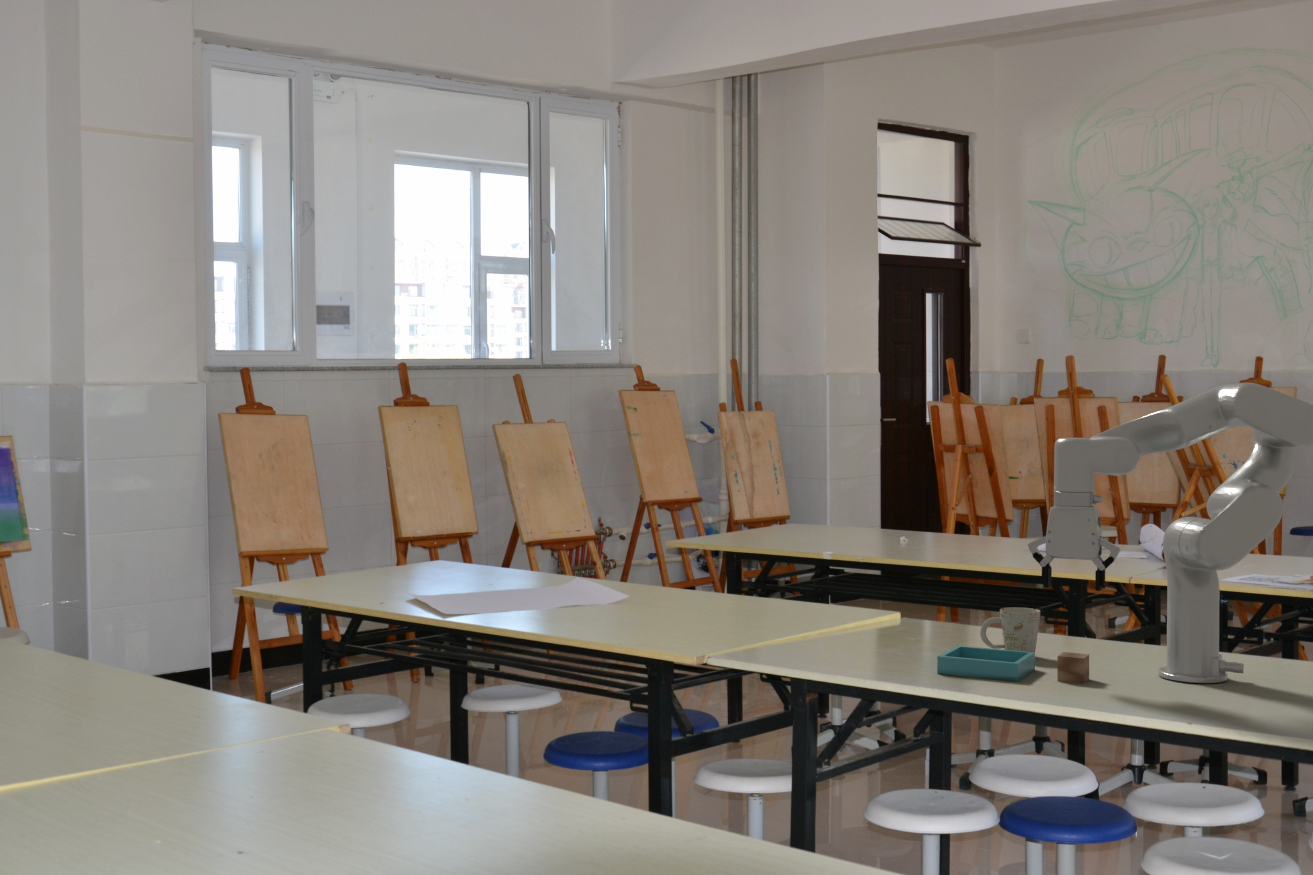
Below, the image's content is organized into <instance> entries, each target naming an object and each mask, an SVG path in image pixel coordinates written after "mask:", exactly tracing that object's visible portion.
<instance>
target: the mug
mask: <svg viewBox="0 0 1313 875" xmlns="http://www.w3.org/2000/svg"><path fill="white" fill-rule="evenodd" d="M1040 617H1041V610H1040V609H1036V608H1029V607H1018V606H1017V607H1015V606H1014V607H1002V608H1000V609H999V617H998V616H997V617H989V618H987V619H986V620H985V621H984V622H983V623H982V625H981V627H980V632H979V634H980V639H981V641H982V642H983V644H984V645H986V646H987V647H988V648H990V649H1003V650H1013V651H1024V652H1035V653H1036V649H1037V648H1036V647H1037V640H1038V632H1039V626H1040ZM992 624H1000V625H1001V631H1002V640H1003V644H993V643H992V642H991V641H990V640H989V639H988V636H987V630H988V628H989V627H990V626H991V625H992Z"/></svg>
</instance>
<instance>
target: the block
mask: <svg viewBox="0 0 1313 875" xmlns="http://www.w3.org/2000/svg"><path fill="white" fill-rule="evenodd" d="M1056 678H1057V680H1056V681H1057V682H1061V683H1071V684H1081V685H1085V684H1086V683H1087V682H1088V681H1089V680H1090V653H1079V652H1078V653H1077V652H1065V651H1063V652H1061V653H1059V654H1058V655H1057V677H1056Z"/></svg>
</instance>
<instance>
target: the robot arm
mask: <svg viewBox="0 0 1313 875" xmlns="http://www.w3.org/2000/svg"><path fill="white" fill-rule="evenodd" d="M1235 427H1250V428H1251V434H1252V435H1251V436H1252V442H1253V443H1252V450H1251V454H1250V455H1249V457H1248V459H1247V460H1245V462H1244V463H1243V464H1242V465H1241V466H1240V467H1239V468H1237V470H1236V471H1234V472H1233V473H1232V474H1231V475H1230V476H1229V477H1228V478H1227V479H1226V480H1224V481H1223V482H1222V483H1221V484H1220V485H1219V486H1218V487H1217V488H1216V489H1215V490H1213V492H1212V493H1211V494H1210V496H1209V498H1208V499H1207V502H1206V512H1207V515H1208V517H1209V518H1210V519H1209V518H1206V517H1205V518H1204V517H1197V516H1185V517H1180V518H1177V519H1176V520H1174V521H1172V522H1171V523H1170V525H1168V527H1167V528H1166V530H1165V532H1164V535H1163V541H1162V548H1163V549H1162V550H1163V556H1164V561H1165V568H1166V584H1167V586H1166V587H1167V590H1166V592H1167V593H1166V594H1167V597H1166V609H1167V610H1166V666H1161V667H1160V668H1158V669H1157V670H1158V671H1157V672H1158V676H1159V677H1161V678H1162V679H1163V678H1164V679H1166V680H1171V681H1176V682H1183V683H1191V684H1193V683H1196V684H1217V683H1224V682H1226V681H1227V680H1228V673H1233V674H1244V672H1245V664H1244V662H1243V663H1241V662H1236V661H1226V660H1225V659H1223V654H1222V653H1221V654H1220V600H1221V598H1220V595H1221V594H1220V593H1221V592H1220V582H1219V577H1218V576H1219V575H1218V572H1217V571H1224V570H1228V569H1230V568H1232V567H1234V566H1236V565H1237V564H1238V563H1239V562H1241V561H1242V560H1243V559H1244V558H1245V557H1247V555H1249V554H1250V553H1251V552H1252V551H1253V550H1254V549H1255V548H1257V546H1259V544H1260V543H1261V542H1263V541H1264V540H1265V539H1266V538H1267V537H1268V536H1269V535H1270V534H1272V532H1273V531H1275V529H1276V528H1277V526H1278V525H1279V524H1280V521H1282V517H1283V513H1284V501H1283V499H1282V497H1281V495H1280V492H1281V491H1282V490H1283V489H1284V488H1285V487H1286V486H1287V484H1289V482H1290V480H1291V478H1292V476H1293V474H1294V467H1295V450H1294V449H1295V448H1308V447H1313V404H1312V403H1310V402H1307V401H1305V400H1302V399H1300V398H1297V397H1294V396H1292V395H1289V394H1287V393H1284V392H1281V391H1278V390H1276V389H1274V388H1270V387H1267V386H1265V385H1262V384H1259V383H1255V382H1239V383H1238V382H1237V383H1234V382H1233V383H1225V384H1221V385H1218V386H1216V387H1213V388H1211V389H1208V390H1206V391H1204V392H1202V393H1198V394H1196V395H1195V396H1192V397H1191V398H1187V399H1186V400H1184V401H1180V402H1179V403H1176V404H1174V405H1171V406H1169V407H1167V408H1164V409H1163V408H1162V409H1161V410H1157V411H1155V412H1152V413H1149V414H1146V415H1144V416H1142V417H1138V418H1136V419H1132V420H1129V421H1126V422H1124V423H1121V424H1118V425H1116V426H1114V427H1112V428H1108V429H1106V430H1104V431H1102V432H1100V433H1097V434H1095V435H1093V436H1091V437H1090V438H1088V437H1061V438H1058V439H1057V440H1056V441H1055V442H1054V447H1053V448H1054V449H1053V450H1054V451H1053V452H1054V453H1053V457H1054V458H1053V459H1054V460H1053V464H1054V465H1053V506H1050V507H1049V508H1050V509H1049V511H1048V517H1047V526H1046V531H1045V532H1046V533H1045V534H1046V535H1044V536H1042V537H1040V538H1038V539H1035V540H1034V541H1031V542H1029V543H1027V548H1028V549H1029V551H1030V553H1031V554H1032V558H1033V559H1034V560H1035V561H1036V562H1037V563H1038V564H1039V566H1040V567H1041V583H1044V584H1043V585H1044V586H1043V587H1044V588H1049V587H1052V580H1053V579H1052V577H1053V576H1052V574H1053V573H1052V570H1053V569H1052V566H1051V563H1052V561H1054V559H1062V560H1063V559H1067V560H1082V561H1085V560H1086V561H1092V562H1093V564H1094V566H1096V569H1097V570H1095V576H1094V578H1095V581H1094V583H1095V584H1094V586H1095V587H1094V589H1095V591H1096V592H1100V591H1102V590H1103V587H1105V586H1106V570H1107V568H1109V566H1111V565H1112V564H1113V563H1115V562H1116V559H1117V557H1118V555H1119V554H1120V552H1121V548H1120V547H1119V546H1117V545H1115V544H1114V543H1112V542H1111V541H1108V540H1106V539H1105V538H1103V534H1102V520H1101V514H1100V510H1099V508H1098V507H1095V506H1096V504H1098V503H1101V504H1102V503H1103V496H1102V495H1099V494H1098V495H1097V494H1096V491H1095V475H1096V474H1097V475H1098V474H1099V475H1108V476H1116V477H1117V476H1125V475H1128V474H1130V473H1131V472H1133V471H1134V470H1135V469H1136V468H1137V467H1138V466H1139V463H1140V460H1141V457H1144V456H1147V455H1151V454H1157V453H1163V452H1174V451H1177V450H1182V449H1185V448H1188V447H1190V446H1192V445H1194V444H1197V443H1201V441H1203V440H1207V439H1209V438H1211V437H1213V436H1216V435H1217V434H1220V433H1223V432H1226V431H1227V430H1230V429H1232V428H1235ZM1044 544H1045V554H1046V555H1045V556H1044V555H1043V554H1042V553H1040V551H1039V549H1038V548H1039V546H1042V545H1044ZM1103 548H1105V549H1106V550H1108V551H1109V552H1110V553H1109V556H1107V558H1106V559H1103V558H1102V555H1103Z"/></svg>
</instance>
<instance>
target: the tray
mask: <svg viewBox="0 0 1313 875" xmlns="http://www.w3.org/2000/svg"><path fill="white" fill-rule="evenodd" d="M936 658H937V663H936V664H937V666H936V667H937V669H936V673H937V675H945V676H958V677H966V678H967V677H968V678H976V679H977V678H978V679H986V680H987V679H988V680H995V681H997V680H998V681H1007V682H1018V683H1019V681H1022V680H1023V679H1024V678H1025V677H1027V676H1028V675H1030V674H1031V673H1032V672H1034V671H1035V670H1036V651H1035V652H1024V651H1013V650H1005V649H1003V648H1001V649H994V648H991V647H979V646H967V645H965V646H964V645H956V646H954V647H952V648H950V649H948V650H946V651H944V652H943V653H940V654H939V655H937V657H936Z"/></svg>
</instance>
